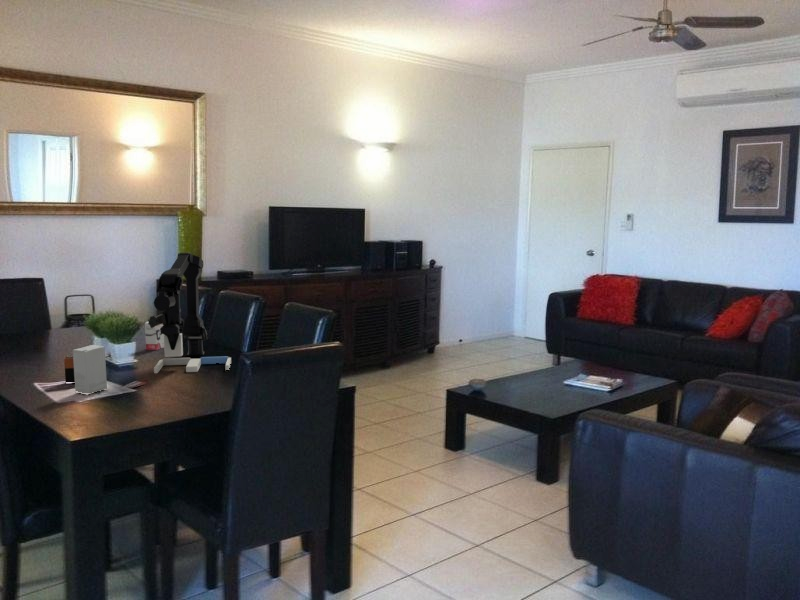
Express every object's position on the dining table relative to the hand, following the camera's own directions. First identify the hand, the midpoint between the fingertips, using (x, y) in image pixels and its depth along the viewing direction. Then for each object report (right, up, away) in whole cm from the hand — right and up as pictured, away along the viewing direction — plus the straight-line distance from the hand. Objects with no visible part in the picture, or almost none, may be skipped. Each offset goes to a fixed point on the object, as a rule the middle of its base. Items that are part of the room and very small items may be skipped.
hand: (173, 348), depth 269 cm
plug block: (0, -3, 0) cm, 3 cm away
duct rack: (+7, -7, +2) cm, 10 cm away
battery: (-27, -11, -20) cm, 35 cm away
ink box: (-20, -3, +39) cm, 44 cm away
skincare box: (-16, -12, -33) cm, 39 cm away
